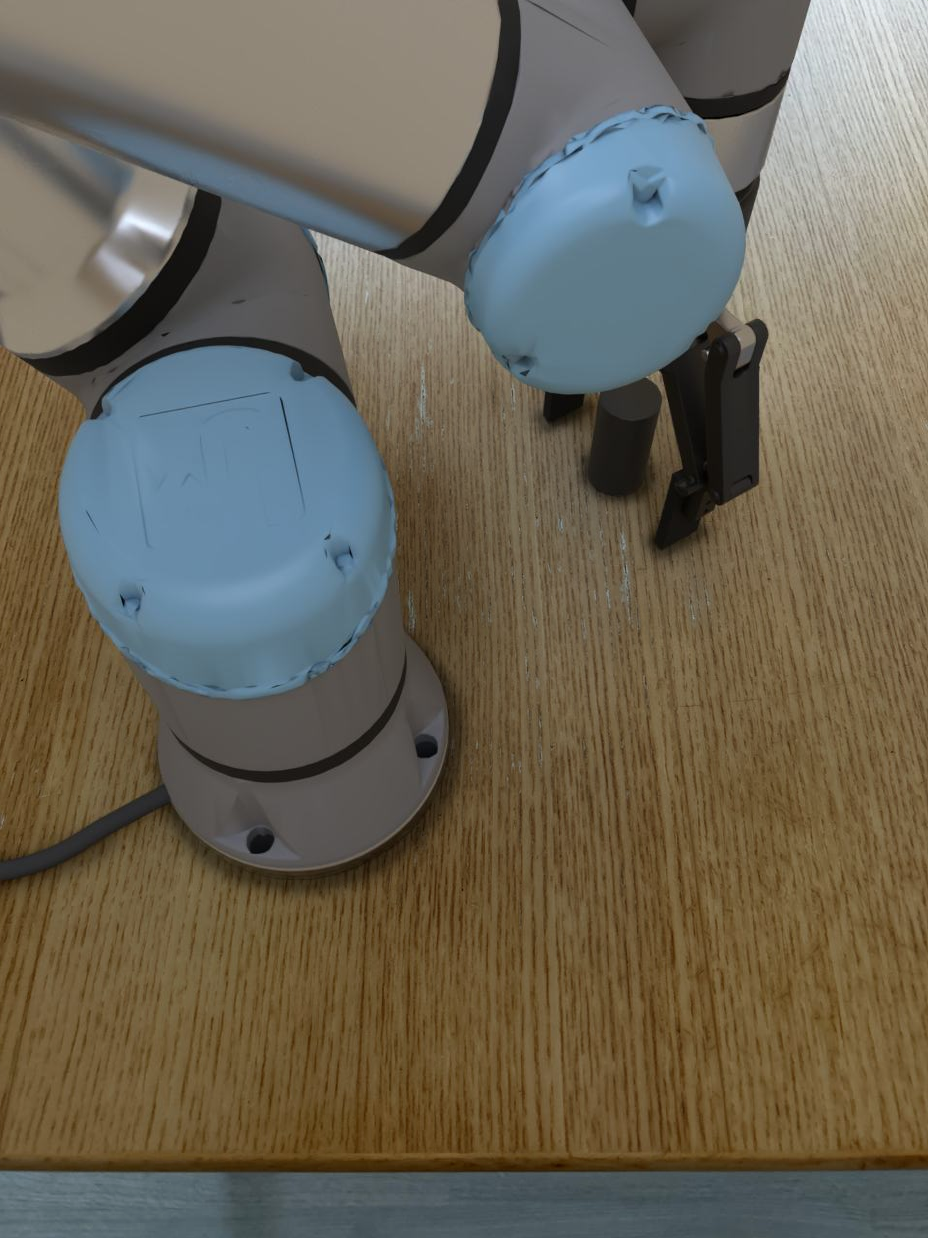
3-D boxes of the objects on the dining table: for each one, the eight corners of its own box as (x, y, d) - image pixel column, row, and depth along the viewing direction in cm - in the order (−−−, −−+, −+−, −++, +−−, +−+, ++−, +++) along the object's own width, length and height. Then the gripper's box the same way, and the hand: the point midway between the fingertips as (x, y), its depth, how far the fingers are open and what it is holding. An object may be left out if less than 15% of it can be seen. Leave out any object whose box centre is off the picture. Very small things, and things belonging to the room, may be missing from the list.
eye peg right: (609, 504, 63) (624, 429, 57) (576, 466, 64) (587, 389, 58) (655, 480, 64) (675, 403, 57) (621, 443, 65) (637, 364, 59)
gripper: (933, 282, 41) (787, 576, 60) (591, 9, 51) (559, 334, 70) (791, 355, 39) (687, 635, 58) (465, 55, 49) (467, 377, 68)
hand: (617, 471), depth 64 cm, fingers open, 11 cm apart
